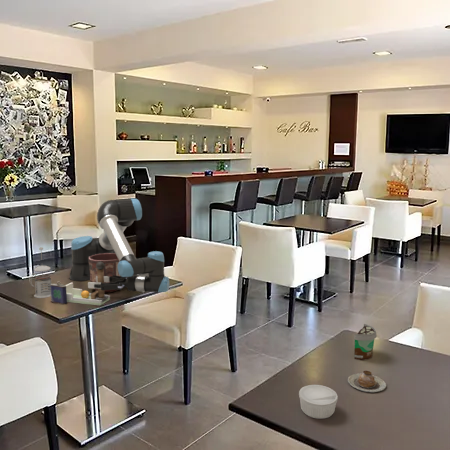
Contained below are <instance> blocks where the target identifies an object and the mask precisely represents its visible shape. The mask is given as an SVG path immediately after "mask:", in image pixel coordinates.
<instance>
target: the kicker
mask: <svg viewBox="0 0 450 450" xmlns="http://www.w3.org/2000/svg"><path fill="white" fill-rule="evenodd" d="M96 268H97V277H98V283H101V282H102V283H104V269H103V268H104V263H103V262H98V263H97V264H96ZM107 295H108V294H106V293H104V290H101V289H98V291H94V292H92V293H91V299H95V300H102V301H104V300H106V299H107V298H108V296H107Z"/></svg>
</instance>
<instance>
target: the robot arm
mask: <svg viewBox="0 0 450 450" xmlns="http://www.w3.org/2000/svg"><path fill="white" fill-rule="evenodd" d="M142 217H143V208H142V204H141V202H140V200H139V199H137V198H132V197H131V198H124V199H123V198H121V199H109V200H105V201H104V202H103V203H102V204H101V205H100V206H99V208H98V210H97V215H96V219H97V223H98V226H99V227H100V228H101V229H102V230H103V232H102V233H101V234H100V235H99V237H94V238H93V237H92V235H86V236H83V235H82V236H79V237H76V238H74V239H73V240H71V246H70V249H71V263H72V264H71V265H72V266H71V268H70V272H69V279H70V280H71V281H78V282H79V281H80V282H84V281H88V282H87V288H88V289H93V288H98V289H101V290H117V291H119V290H121V291H122V290H123V289H125V288H127V291H129V292H141V293H145V292H147V293H148V292H149V293H166V292H168V290H169V289H170V278H169V276H165V256H164V253H163V252H162V251H157V250H155V251H154V250H153V251H150V252H148V253H147V256H145V257H146V258H139V259H136V256H135V254H134V252H133V249H132V247H131V246H130V244H129V241H128V240H127V238H126V236H125V234H124V231H125V230H126V229H127V227H130V226H132V224H133V223H134V221H140V220H141V219H142ZM104 253H115V254H116V255H117V257H118V259H119V263H118V273H119V275H120V276H116V275H112V276H110V277H108V276H104V282H109V281H110V283H102V282H101V283H96V282H98V277H97V276H96V282H90V268H89V261H88V258H89V257H90V256H92V255H96V254H104ZM147 273H148V275H149V276H135V275H140V274H147Z"/></svg>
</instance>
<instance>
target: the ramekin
mask: <svg viewBox="0 0 450 450" xmlns="http://www.w3.org/2000/svg"><path fill="white" fill-rule="evenodd" d="M299 389H300V390H299V391H298V396H299V402H300V408H301V410H302V412H303V413H304V414H305V415H306V416H307V417H309V418H314V419H320V420H321V419H328V418H330V417H332V415H333V414H334V413H335V410H336V406H337V402H338V394H337V392H336V391H335V390H334V389H333V388H330V387H328V386H325V385H321V384H309V385H305V386H303V387H301V388H299Z"/></svg>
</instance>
